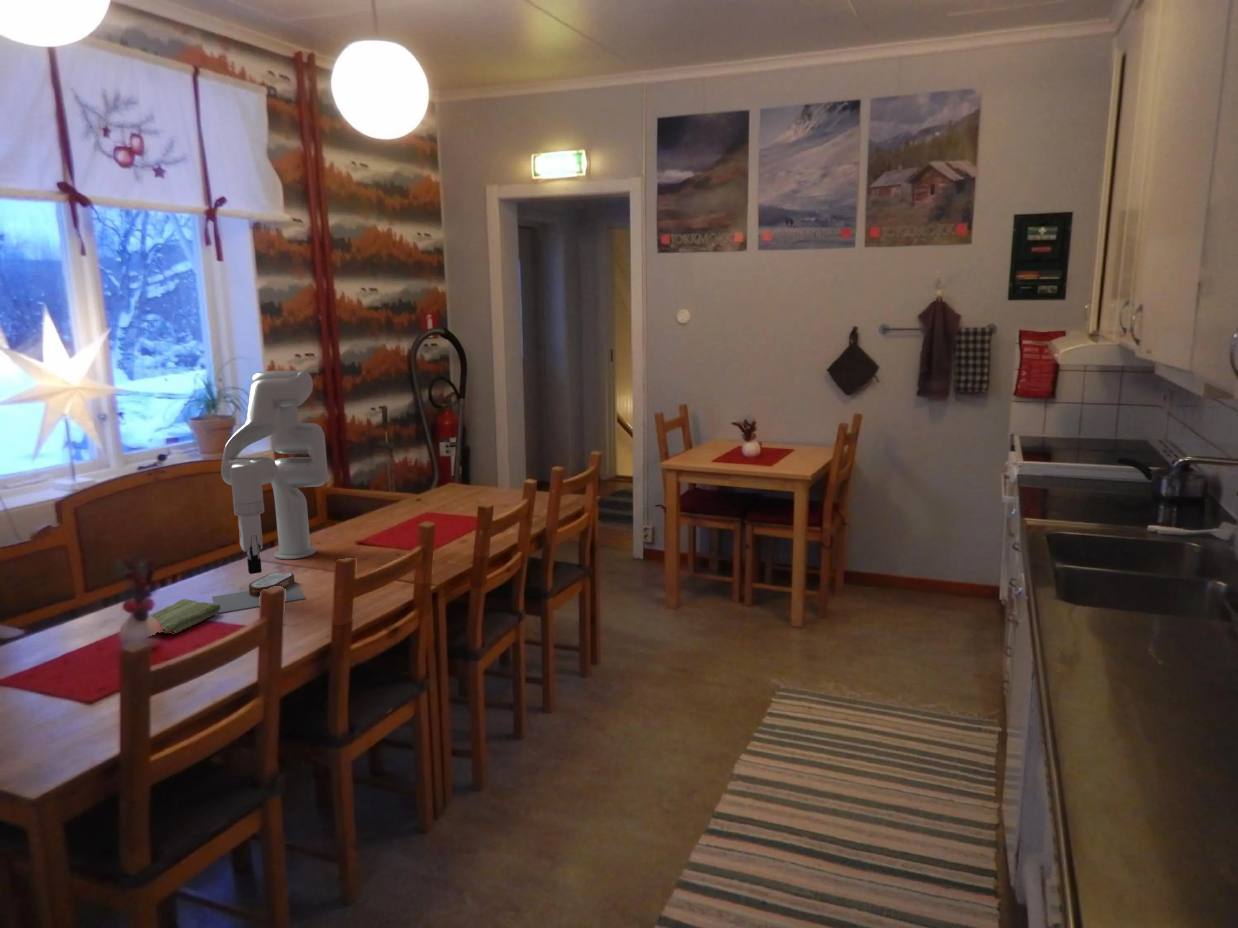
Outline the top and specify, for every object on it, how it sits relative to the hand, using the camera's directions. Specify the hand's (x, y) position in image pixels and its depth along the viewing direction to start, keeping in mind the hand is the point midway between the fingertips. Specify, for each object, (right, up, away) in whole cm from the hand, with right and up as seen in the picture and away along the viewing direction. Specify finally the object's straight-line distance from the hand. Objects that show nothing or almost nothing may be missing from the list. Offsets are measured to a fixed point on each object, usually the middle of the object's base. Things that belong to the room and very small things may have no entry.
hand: (255, 572), depth 234 cm
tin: (-2, -3, +7) cm, 8 cm away
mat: (+2, -7, -2) cm, 7 cm away
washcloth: (-11, -10, -19) cm, 25 cm away
